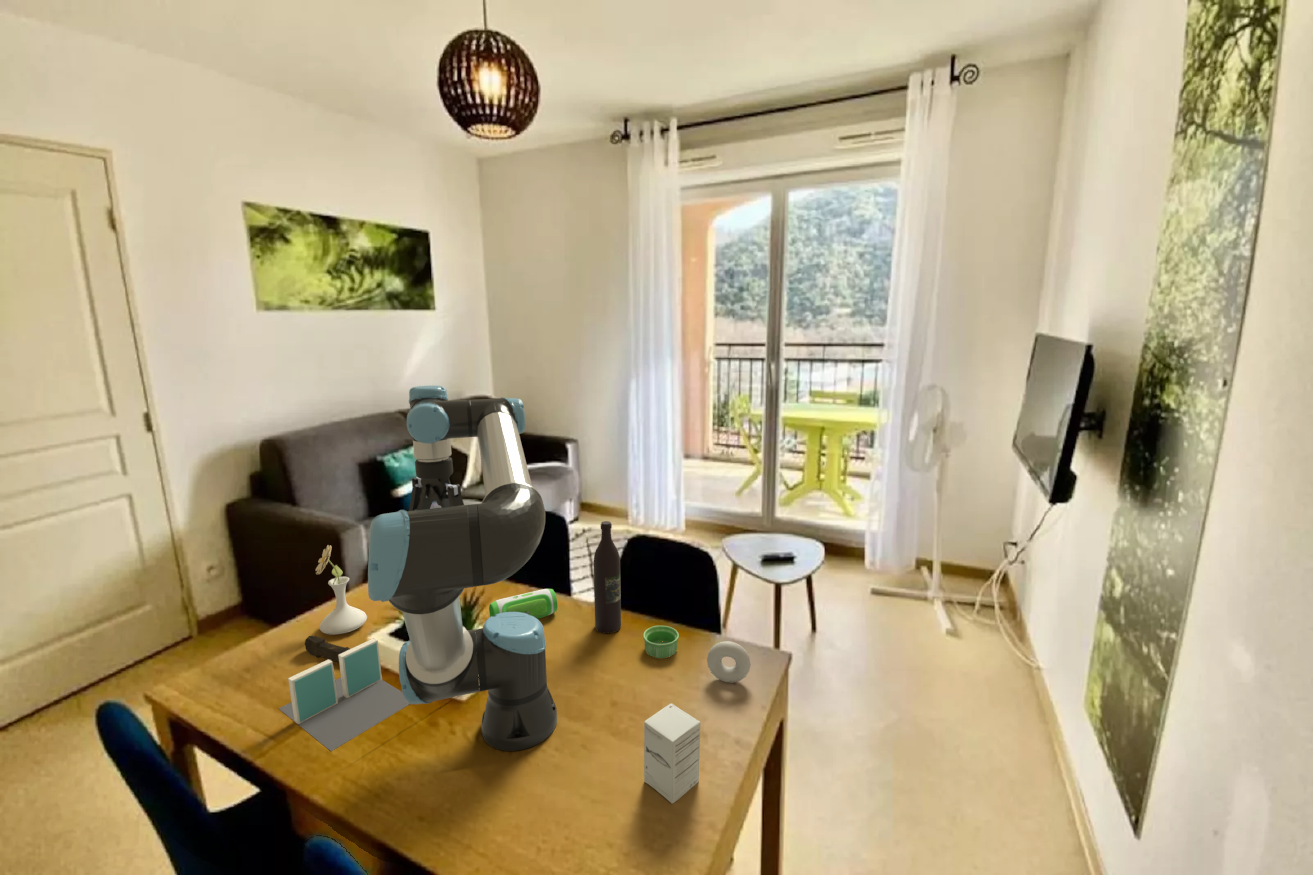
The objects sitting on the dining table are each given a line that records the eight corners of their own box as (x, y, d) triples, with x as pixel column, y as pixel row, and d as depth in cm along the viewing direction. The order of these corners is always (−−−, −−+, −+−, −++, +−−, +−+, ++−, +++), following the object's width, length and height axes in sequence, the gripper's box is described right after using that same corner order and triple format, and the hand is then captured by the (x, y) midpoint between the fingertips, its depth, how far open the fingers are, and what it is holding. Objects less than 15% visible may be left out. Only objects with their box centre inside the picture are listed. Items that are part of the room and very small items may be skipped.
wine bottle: (605, 637, 149) (603, 529, 143) (589, 626, 154) (587, 522, 148) (626, 627, 154) (625, 523, 148) (610, 617, 159) (608, 516, 153)
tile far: (382, 679, 131) (378, 640, 129) (347, 698, 124) (342, 657, 122) (378, 677, 131) (373, 638, 130) (343, 695, 125) (338, 654, 123)
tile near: (338, 703, 122) (332, 661, 120) (298, 724, 116) (292, 681, 114) (334, 700, 123) (328, 659, 121) (294, 721, 117) (288, 678, 115)
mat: (416, 702, 123) (415, 700, 123) (331, 754, 109) (331, 751, 109) (361, 669, 136) (361, 666, 135) (278, 711, 121) (278, 708, 121)
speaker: (496, 634, 151) (494, 608, 149) (489, 622, 157) (487, 597, 156) (558, 617, 159) (557, 593, 158) (550, 606, 166) (549, 583, 164)
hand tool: (368, 663, 138) (366, 646, 137) (353, 672, 135) (351, 655, 134) (317, 646, 146) (315, 629, 145) (301, 654, 142) (299, 637, 141)
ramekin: (636, 649, 144) (635, 634, 143) (662, 636, 150) (662, 621, 149) (659, 665, 137) (659, 648, 136) (686, 651, 143) (686, 635, 142)
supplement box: (642, 782, 102) (642, 720, 100) (671, 760, 107) (671, 701, 105) (672, 806, 97) (672, 742, 94) (700, 782, 102) (701, 720, 100)
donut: (705, 682, 130) (706, 643, 128) (707, 673, 134) (708, 635, 132) (749, 689, 128) (750, 649, 126) (750, 680, 131) (751, 640, 129)
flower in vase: (329, 619, 159) (318, 534, 154) (373, 615, 161) (363, 532, 156) (310, 644, 146) (298, 553, 141) (358, 640, 148) (347, 550, 143)
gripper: (483, 461, 118) (490, 559, 123) (416, 448, 131) (424, 537, 135) (453, 468, 112) (461, 572, 116) (385, 454, 125) (395, 547, 129)
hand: (441, 553), depth 126 cm, fingers open, 11 cm apart
